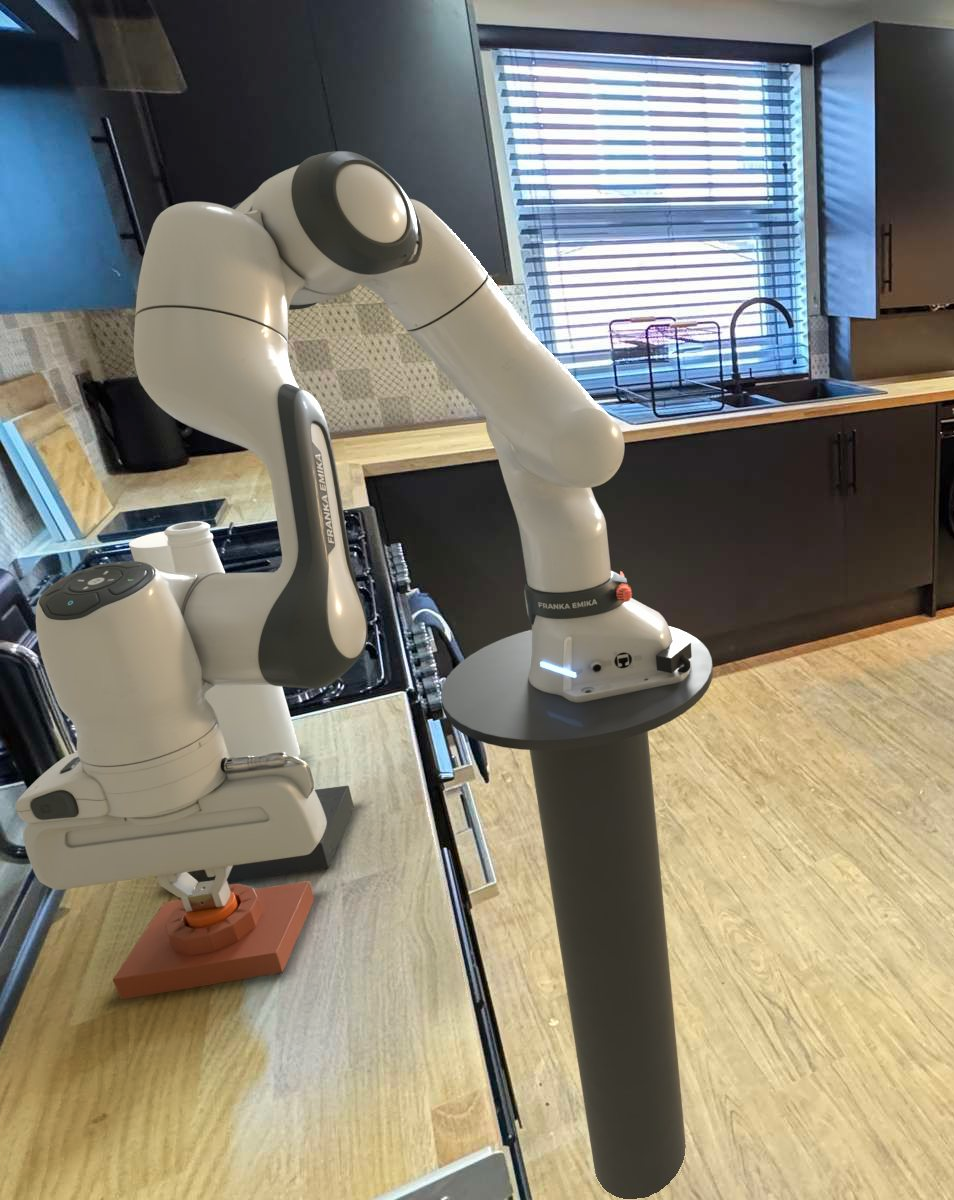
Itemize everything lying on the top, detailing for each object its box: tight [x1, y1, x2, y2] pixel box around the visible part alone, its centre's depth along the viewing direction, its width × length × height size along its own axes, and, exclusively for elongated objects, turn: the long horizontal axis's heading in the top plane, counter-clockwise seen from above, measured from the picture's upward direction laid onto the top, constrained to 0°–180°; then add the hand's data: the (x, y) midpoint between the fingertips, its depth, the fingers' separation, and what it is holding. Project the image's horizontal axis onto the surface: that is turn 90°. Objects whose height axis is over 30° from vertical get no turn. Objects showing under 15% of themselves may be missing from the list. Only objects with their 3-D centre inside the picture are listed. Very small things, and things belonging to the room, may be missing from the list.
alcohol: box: [164, 520, 301, 762], centre depth 94 cm, size 9×9×30 cm
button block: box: [112, 880, 315, 1000], centre depth 73 cm, size 12×9×4 cm
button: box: [185, 891, 239, 929], centre depth 72 cm, size 4×4×2 cm
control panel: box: [187, 785, 355, 883], centre depth 86 cm, size 14×11×3 cm
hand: (209, 904), depth 72 cm, fingers closed, pressing on button
